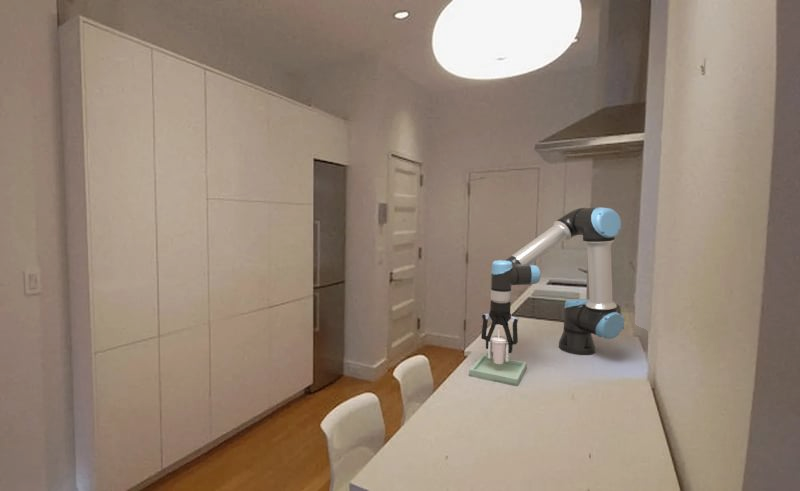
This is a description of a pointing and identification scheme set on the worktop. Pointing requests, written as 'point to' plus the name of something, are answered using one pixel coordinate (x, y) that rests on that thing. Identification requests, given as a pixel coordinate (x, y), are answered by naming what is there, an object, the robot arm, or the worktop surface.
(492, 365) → the tray
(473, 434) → the worktop surface
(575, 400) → the worktop surface
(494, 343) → the smoothie
